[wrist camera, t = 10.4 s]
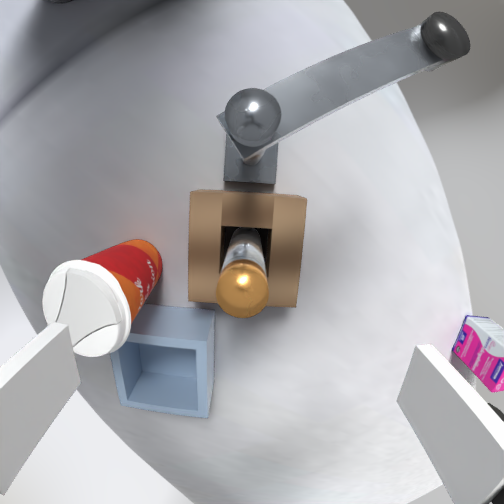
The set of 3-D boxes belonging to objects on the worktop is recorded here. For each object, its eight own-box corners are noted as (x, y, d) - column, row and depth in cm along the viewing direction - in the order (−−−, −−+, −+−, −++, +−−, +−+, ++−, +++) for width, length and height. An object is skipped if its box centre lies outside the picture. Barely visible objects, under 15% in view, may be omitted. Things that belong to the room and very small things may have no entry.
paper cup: (144, 309, 34) (93, 379, 20) (97, 263, 32) (25, 310, 19) (187, 263, 32) (146, 321, 19) (136, 213, 31) (65, 240, 18)
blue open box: (130, 302, 34) (106, 329, 27) (214, 309, 34) (206, 341, 27) (138, 371, 36) (120, 405, 29) (214, 380, 36) (208, 418, 29)
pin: (232, 225, 32) (216, 266, 17) (261, 227, 32) (271, 270, 17) (230, 253, 32) (215, 316, 18) (259, 255, 32) (266, 319, 18)
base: (227, 132, 29) (226, 130, 28) (277, 135, 29) (278, 133, 28) (224, 180, 30) (223, 180, 29) (274, 183, 31) (275, 183, 29)
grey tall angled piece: (248, 172, 29) (245, 161, 9) (235, 151, 28) (207, 100, 9) (357, 112, 27) (488, 45, 8) (345, 92, 27) (460, 2, 7)
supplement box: (464, 314, 34) (513, 352, 23) (488, 316, 35) (535, 351, 24) (449, 350, 36) (491, 394, 25) (474, 350, 36) (515, 389, 25)
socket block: (199, 189, 31) (190, 191, 26) (298, 195, 31) (307, 198, 26) (197, 283, 33) (188, 301, 28) (289, 288, 33) (296, 307, 28)
